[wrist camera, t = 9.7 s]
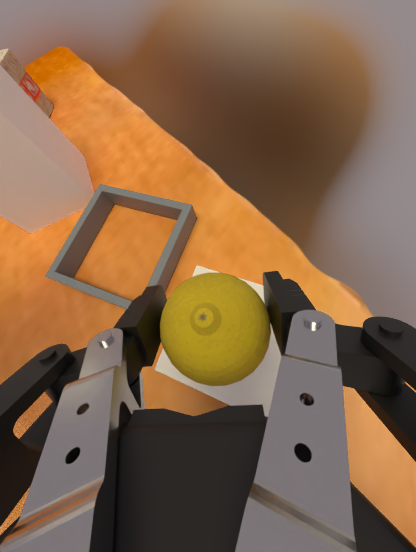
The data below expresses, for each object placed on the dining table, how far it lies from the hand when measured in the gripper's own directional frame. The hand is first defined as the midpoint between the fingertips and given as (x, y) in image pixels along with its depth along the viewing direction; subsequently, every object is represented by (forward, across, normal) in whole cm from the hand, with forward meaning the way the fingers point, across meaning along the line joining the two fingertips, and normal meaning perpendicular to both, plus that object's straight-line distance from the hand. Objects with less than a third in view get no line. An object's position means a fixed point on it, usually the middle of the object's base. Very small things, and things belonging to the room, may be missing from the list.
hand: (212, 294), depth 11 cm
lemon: (+2, 0, +4) cm, 5 cm away
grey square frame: (+17, +13, +2) cm, 22 cm away
